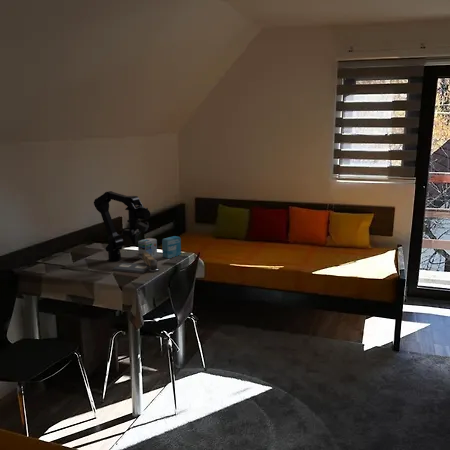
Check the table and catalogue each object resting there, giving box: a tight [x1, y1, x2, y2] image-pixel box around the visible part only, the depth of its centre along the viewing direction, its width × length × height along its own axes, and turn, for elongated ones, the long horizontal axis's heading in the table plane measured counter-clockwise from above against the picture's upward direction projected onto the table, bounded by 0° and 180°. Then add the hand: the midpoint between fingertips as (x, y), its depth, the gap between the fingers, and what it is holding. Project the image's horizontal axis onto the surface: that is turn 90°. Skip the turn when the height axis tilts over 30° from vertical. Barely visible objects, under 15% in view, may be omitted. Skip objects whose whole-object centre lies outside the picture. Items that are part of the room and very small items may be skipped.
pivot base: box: [148, 267, 160, 273], centre depth 271 cm, size 6×6×1 cm
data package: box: [161, 235, 182, 259], centre depth 300 cm, size 12×4×12 cm, turn 141°
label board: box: [112, 262, 151, 274], centre depth 275 cm, size 19×12×1 cm, turn 74°
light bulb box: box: [137, 237, 158, 259], centre depth 299 cm, size 11×7×11 cm, turn 148°
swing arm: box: [141, 252, 158, 269], centre depth 278 cm, size 21×4×5 cm, turn 24°
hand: (134, 244), depth 282 cm, fingers closed
